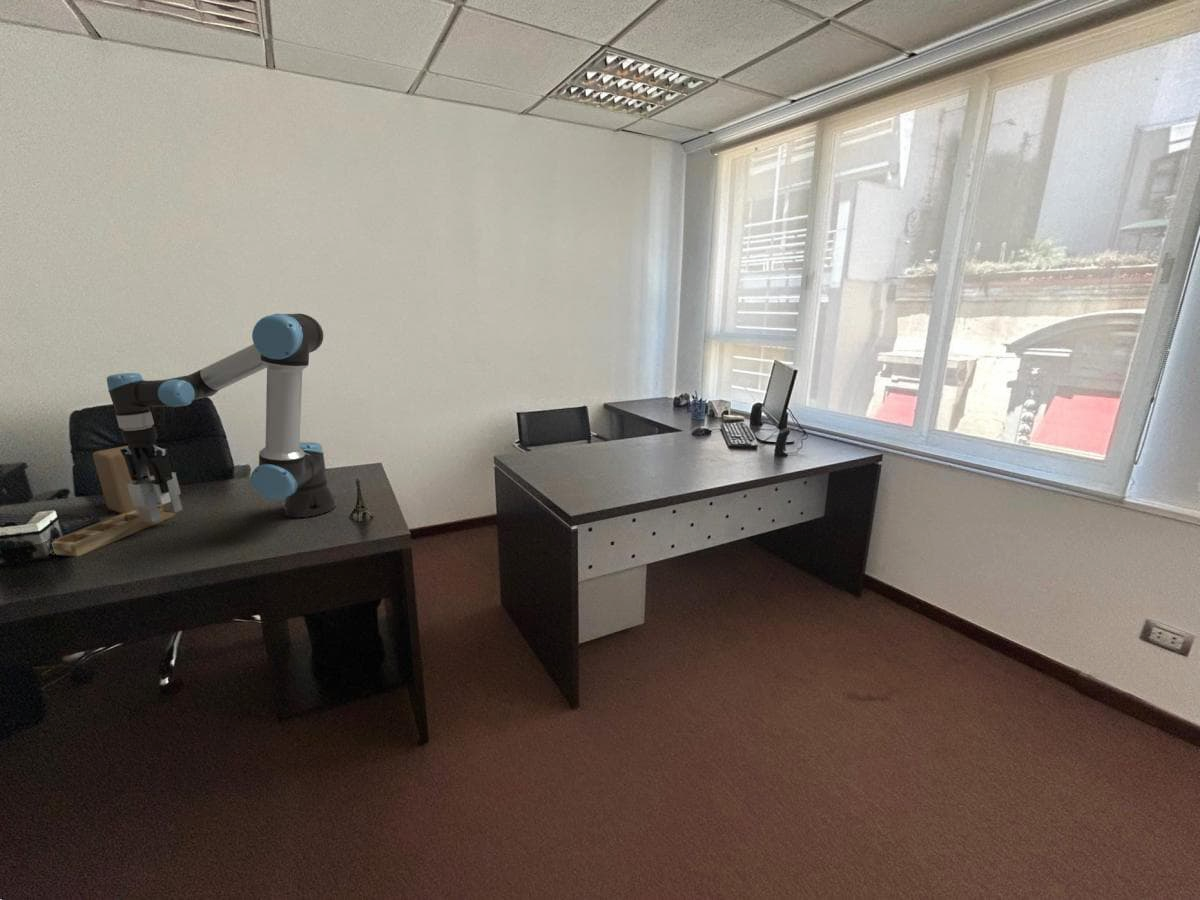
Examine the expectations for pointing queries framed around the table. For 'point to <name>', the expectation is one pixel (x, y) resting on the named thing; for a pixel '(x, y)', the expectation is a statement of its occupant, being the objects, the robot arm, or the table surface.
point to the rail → (103, 533)
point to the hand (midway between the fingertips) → (158, 502)
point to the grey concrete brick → (153, 498)
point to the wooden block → (114, 479)
